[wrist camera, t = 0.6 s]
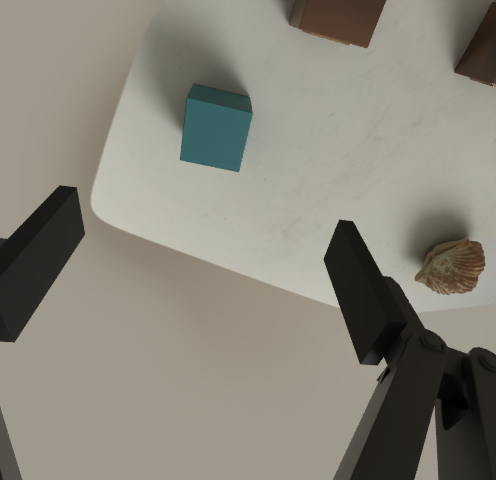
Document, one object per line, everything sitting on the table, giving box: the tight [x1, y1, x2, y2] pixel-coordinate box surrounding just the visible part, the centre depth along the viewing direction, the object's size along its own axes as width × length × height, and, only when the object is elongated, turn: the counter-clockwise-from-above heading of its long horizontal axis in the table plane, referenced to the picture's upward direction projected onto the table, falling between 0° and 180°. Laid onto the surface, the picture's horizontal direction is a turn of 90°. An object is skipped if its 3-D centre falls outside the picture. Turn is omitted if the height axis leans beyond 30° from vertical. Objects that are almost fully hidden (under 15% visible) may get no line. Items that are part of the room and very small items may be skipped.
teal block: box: [180, 84, 253, 172], centre depth 32 cm, size 6×6×6 cm
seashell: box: [415, 238, 485, 295], centre depth 45 cm, size 9×7×8 cm
